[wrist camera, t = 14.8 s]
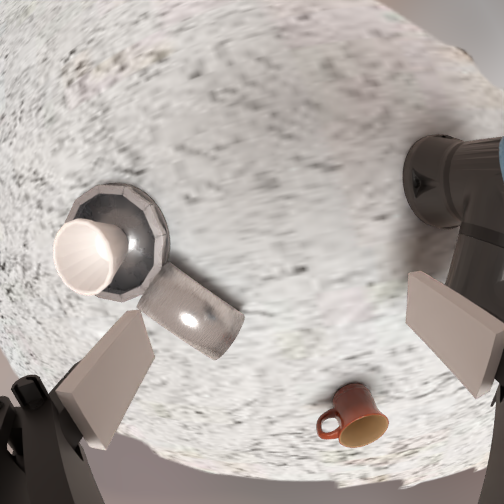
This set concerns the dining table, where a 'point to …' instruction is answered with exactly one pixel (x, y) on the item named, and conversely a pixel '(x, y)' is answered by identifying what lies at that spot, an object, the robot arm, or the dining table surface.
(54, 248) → the cup
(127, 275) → the grey saucepan
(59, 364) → the dining table surface
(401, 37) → the dining table surface
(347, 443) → the mug
